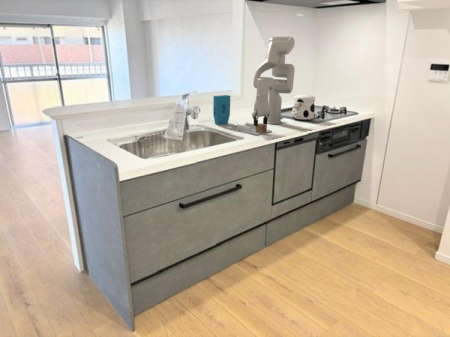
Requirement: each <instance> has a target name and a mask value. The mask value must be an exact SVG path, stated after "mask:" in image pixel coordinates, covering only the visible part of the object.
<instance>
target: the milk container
mask: <svg viewBox="0 0 450 337" xmlns="http://www.w3.org/2000/svg"><path fill="white" fill-rule="evenodd" d="M315 100H316V98H315V96H313V95H305V94H302V95H301V94H299V95H294V97H293V107H292V111H291V117H292V119H294V120H295V121H296V120H297V121H305V122H306V121H310V120H309V119H311V120H313V119H314V117H315V109H314V108H315V107H314V106H315ZM312 118H313V119H312Z"/></svg>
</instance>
